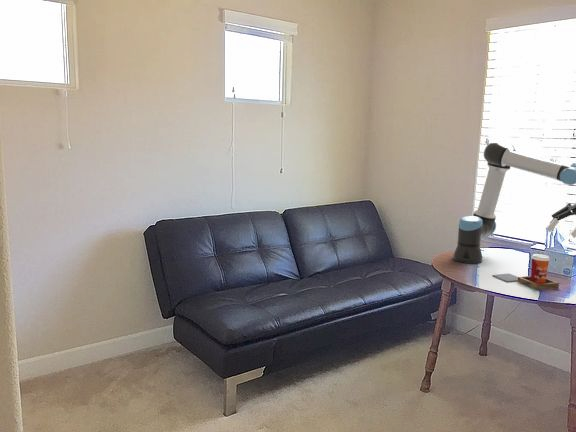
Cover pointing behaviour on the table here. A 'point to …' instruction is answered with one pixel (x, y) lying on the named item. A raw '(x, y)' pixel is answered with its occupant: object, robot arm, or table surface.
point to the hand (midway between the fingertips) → (560, 232)
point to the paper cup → (539, 268)
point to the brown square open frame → (548, 284)
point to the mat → (506, 277)
